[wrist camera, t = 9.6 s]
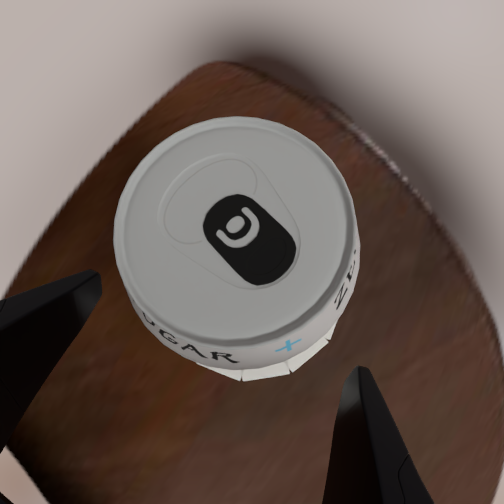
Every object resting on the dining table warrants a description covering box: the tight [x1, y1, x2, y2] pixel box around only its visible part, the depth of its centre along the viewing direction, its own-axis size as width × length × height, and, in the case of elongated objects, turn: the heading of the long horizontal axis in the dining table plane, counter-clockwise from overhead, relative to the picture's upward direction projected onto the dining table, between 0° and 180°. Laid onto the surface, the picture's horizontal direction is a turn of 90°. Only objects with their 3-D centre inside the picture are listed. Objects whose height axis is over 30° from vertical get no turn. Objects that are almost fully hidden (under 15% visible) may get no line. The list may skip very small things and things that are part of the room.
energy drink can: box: [113, 116, 360, 370], centre depth 13 cm, size 6×6×15 cm
